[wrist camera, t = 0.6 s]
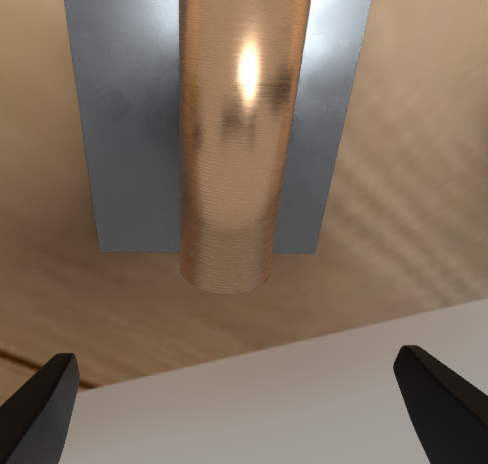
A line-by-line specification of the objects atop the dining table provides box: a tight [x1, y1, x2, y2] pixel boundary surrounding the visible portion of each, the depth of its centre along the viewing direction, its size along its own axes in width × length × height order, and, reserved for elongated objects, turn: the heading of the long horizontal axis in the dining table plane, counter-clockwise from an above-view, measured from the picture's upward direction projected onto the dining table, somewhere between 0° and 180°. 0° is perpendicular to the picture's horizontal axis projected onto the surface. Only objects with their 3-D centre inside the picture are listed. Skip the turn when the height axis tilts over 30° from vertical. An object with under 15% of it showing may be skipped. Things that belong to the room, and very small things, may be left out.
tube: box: [179, 0, 311, 294], centre depth 14 cm, size 17×5×5 cm, turn 175°
